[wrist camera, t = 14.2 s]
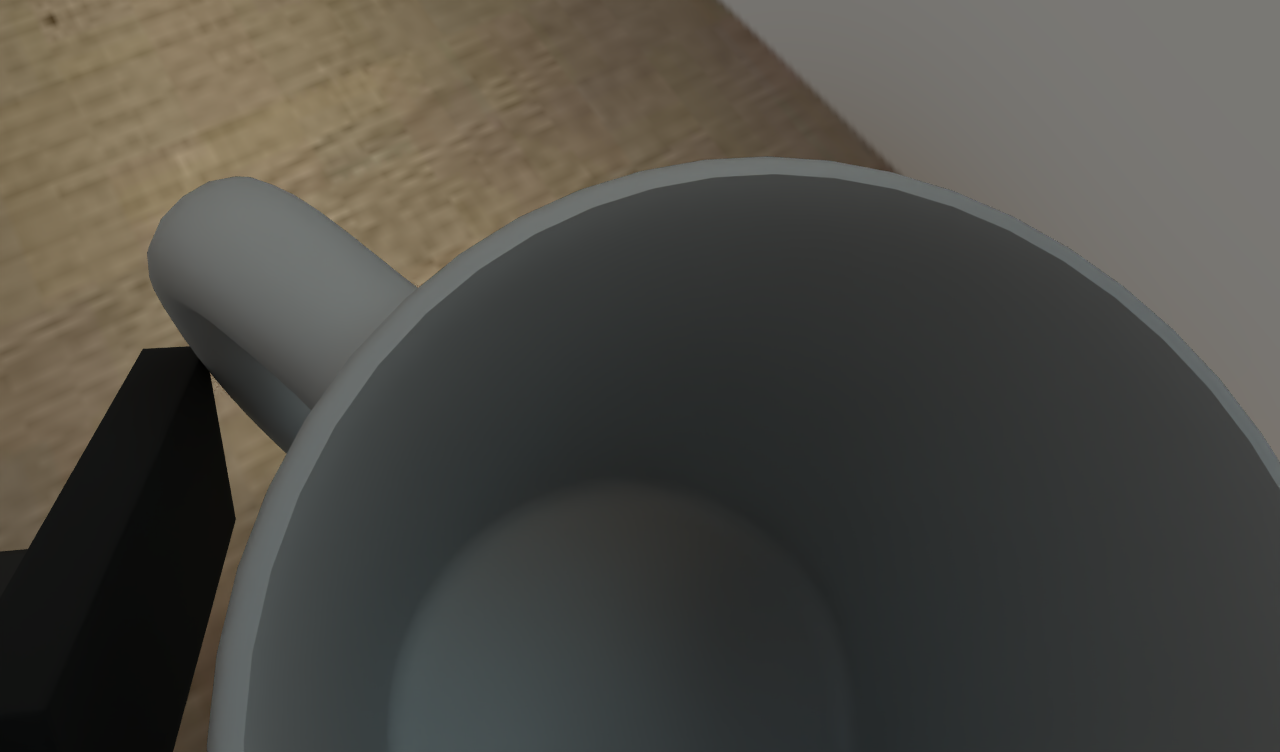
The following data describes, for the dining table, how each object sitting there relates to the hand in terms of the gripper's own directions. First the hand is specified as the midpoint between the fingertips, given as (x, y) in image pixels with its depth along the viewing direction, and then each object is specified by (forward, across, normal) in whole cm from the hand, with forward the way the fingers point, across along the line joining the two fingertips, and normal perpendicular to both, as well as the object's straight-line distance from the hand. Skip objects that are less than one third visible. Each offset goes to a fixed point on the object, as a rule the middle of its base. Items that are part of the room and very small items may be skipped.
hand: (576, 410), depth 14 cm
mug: (+1, 0, -5) cm, 5 cm away
